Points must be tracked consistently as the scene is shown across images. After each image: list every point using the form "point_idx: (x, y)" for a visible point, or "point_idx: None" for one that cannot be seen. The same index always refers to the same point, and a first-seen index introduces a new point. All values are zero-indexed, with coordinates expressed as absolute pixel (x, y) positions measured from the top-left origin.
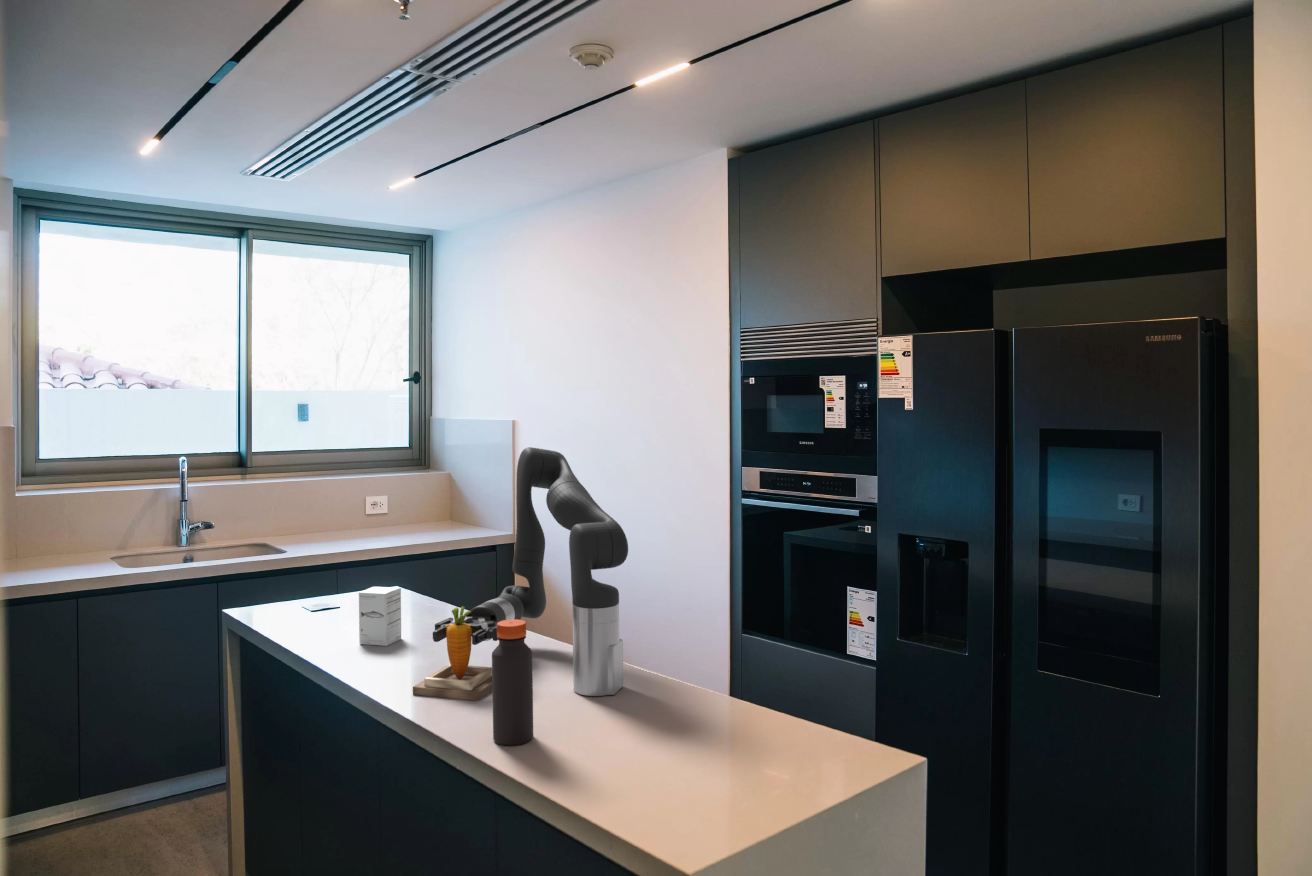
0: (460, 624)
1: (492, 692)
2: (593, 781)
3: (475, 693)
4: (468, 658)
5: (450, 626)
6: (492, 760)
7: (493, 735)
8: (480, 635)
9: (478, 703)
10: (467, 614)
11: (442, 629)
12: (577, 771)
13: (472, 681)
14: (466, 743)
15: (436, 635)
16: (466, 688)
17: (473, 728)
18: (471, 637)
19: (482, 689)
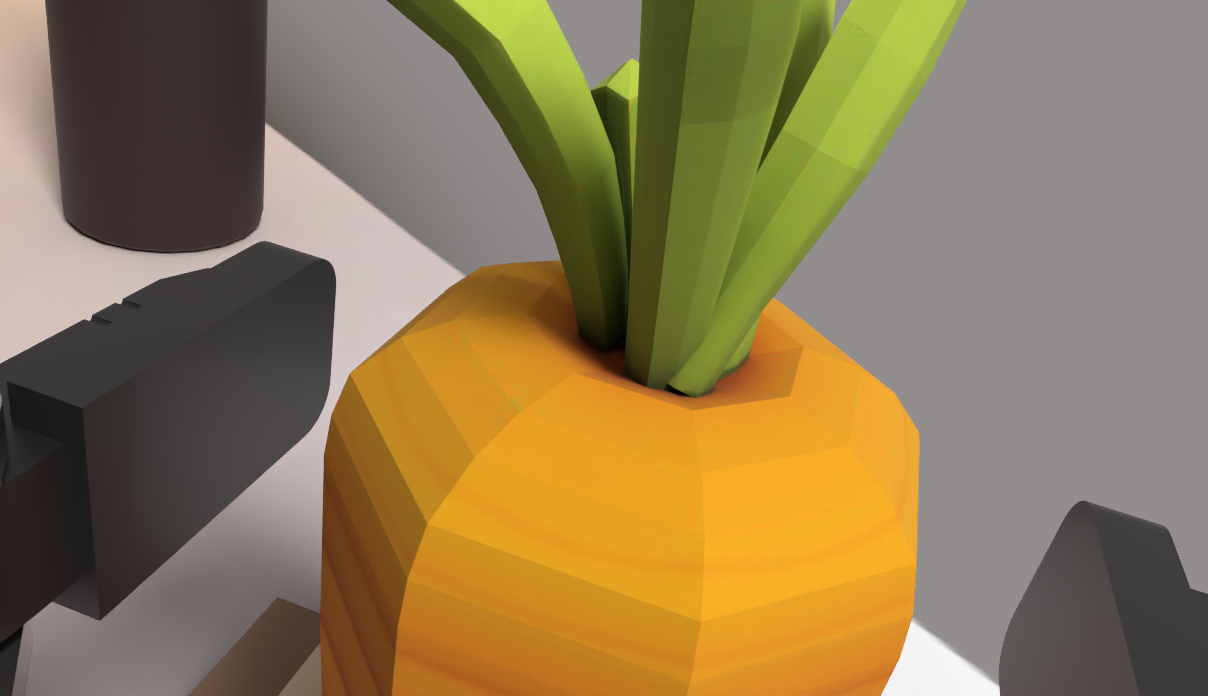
0: (620, 321)
1: (264, 9)
2: (8, 43)
3: (295, 610)
4: None
5: (824, 340)
6: (290, 152)
7: (263, 194)
8: (169, 279)
9: (274, 593)
10: (468, 36)
11: (1121, 686)
12: (25, 70)
13: (319, 646)
14: (381, 235)
15: (1051, 549)
16: None
17: (343, 315)
18: (322, 578)
19: (209, 673)
